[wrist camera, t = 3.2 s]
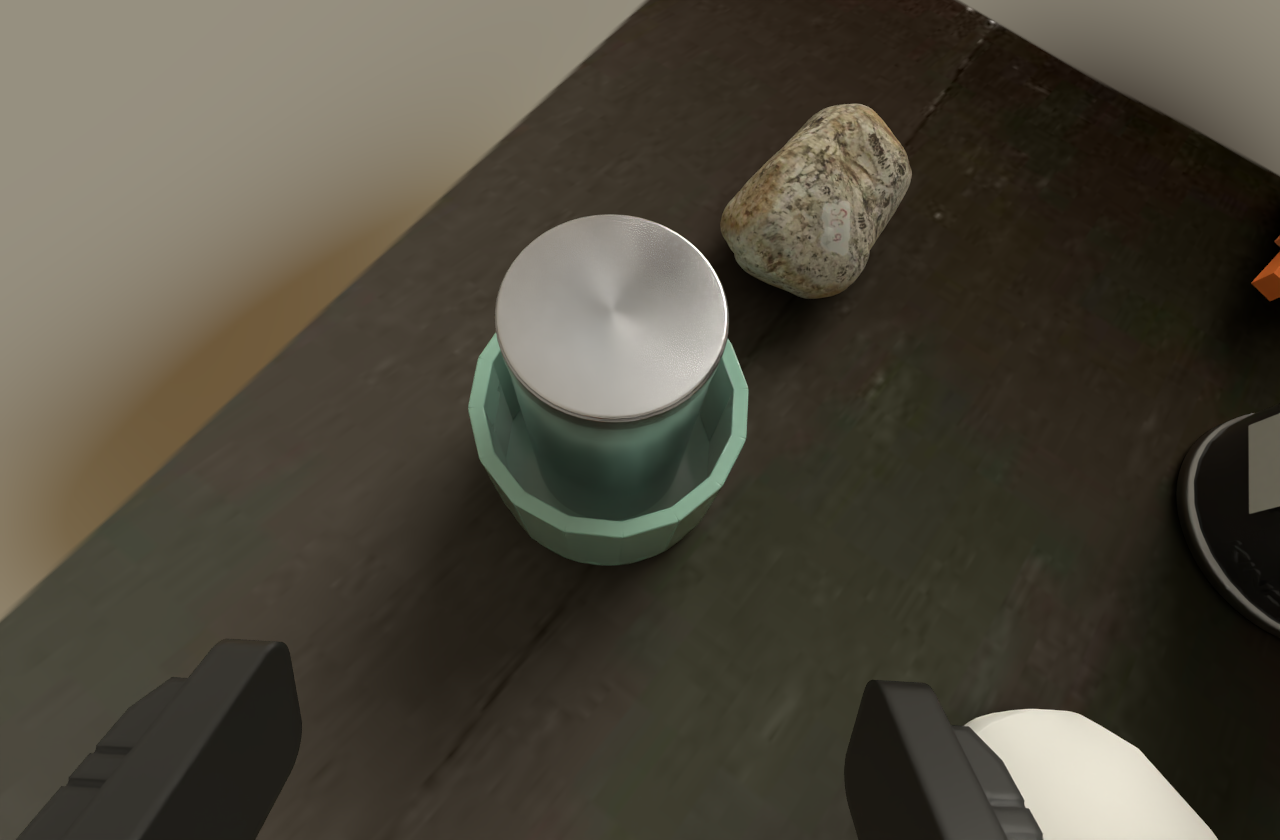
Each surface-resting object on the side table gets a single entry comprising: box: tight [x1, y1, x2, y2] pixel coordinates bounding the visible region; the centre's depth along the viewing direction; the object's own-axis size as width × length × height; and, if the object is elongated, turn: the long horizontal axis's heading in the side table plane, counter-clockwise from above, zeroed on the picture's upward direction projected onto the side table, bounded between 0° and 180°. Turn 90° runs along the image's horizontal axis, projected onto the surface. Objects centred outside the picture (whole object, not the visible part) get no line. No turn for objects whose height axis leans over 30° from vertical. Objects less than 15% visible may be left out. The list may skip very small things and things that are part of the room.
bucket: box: [468, 333, 749, 566], centre depth 25 cm, size 9×9×6 cm
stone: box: [720, 104, 912, 299], centre depth 29 cm, size 6×9×5 cm
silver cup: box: [495, 214, 729, 520], centre depth 22 cm, size 6×6×11 cm
